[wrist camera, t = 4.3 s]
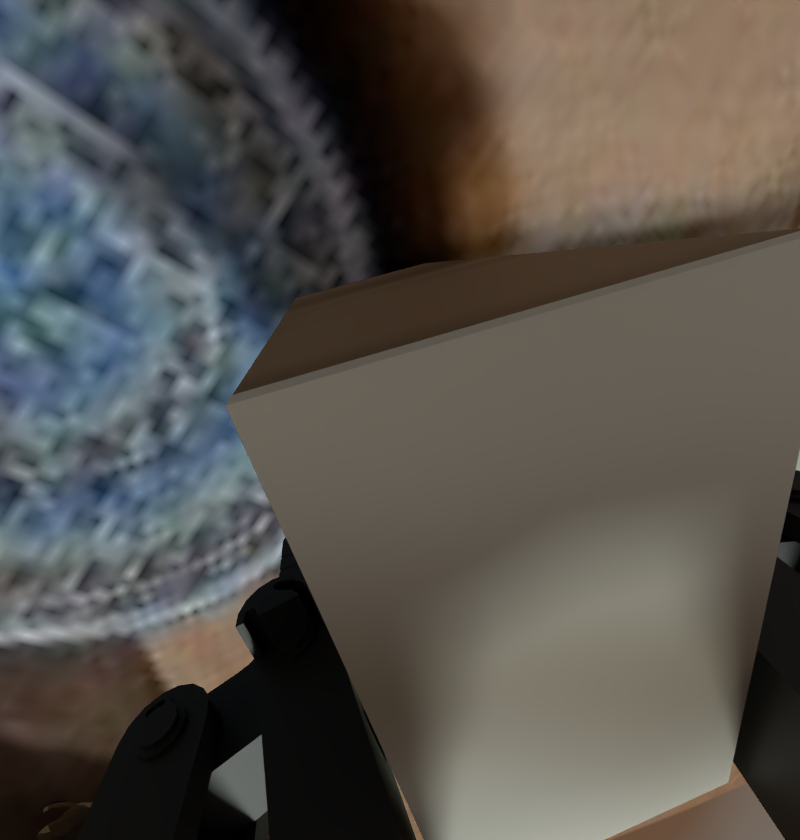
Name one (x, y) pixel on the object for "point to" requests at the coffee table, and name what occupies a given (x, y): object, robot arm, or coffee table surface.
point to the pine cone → (65, 822)
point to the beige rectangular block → (541, 515)
